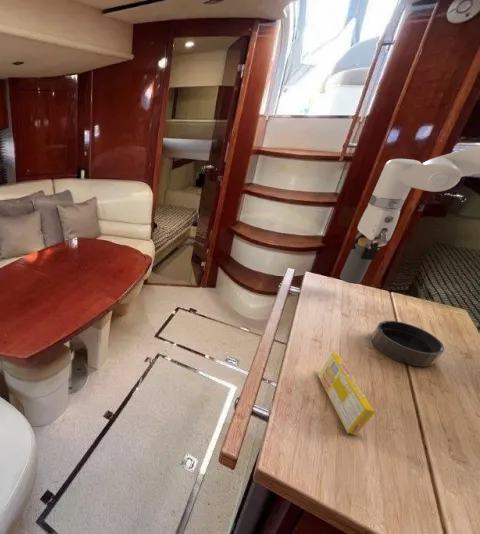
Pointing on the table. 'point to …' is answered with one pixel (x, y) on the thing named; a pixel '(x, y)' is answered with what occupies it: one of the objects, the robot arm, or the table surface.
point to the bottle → (356, 263)
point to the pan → (407, 343)
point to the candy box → (345, 394)
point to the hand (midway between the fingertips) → (361, 254)
